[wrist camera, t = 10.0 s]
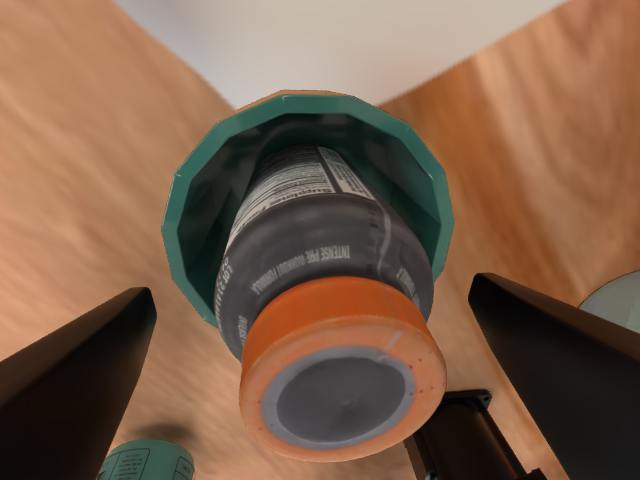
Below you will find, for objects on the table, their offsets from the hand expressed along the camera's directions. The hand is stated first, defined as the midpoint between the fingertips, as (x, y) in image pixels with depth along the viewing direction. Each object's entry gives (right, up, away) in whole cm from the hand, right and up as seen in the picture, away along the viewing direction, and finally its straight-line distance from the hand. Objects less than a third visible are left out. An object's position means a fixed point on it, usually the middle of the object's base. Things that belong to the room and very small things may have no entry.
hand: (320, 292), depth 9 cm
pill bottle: (-1, +4, +7) cm, 8 cm away
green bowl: (-1, +4, +8) cm, 9 cm away
